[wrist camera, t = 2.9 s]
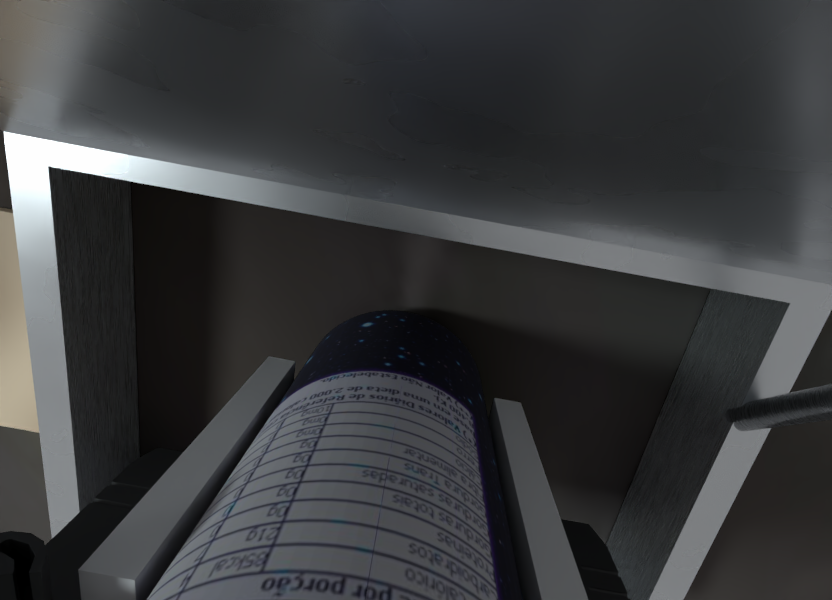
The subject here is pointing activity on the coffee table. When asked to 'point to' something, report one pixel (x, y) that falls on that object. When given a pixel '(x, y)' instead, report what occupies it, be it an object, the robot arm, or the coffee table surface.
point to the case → (443, 190)
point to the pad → (14, 337)
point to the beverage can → (362, 482)
